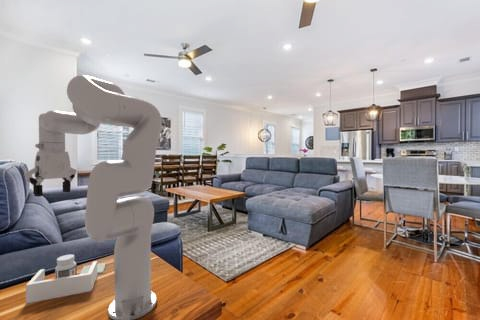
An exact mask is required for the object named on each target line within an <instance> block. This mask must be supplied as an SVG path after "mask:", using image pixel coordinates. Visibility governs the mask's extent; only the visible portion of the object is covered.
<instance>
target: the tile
mask: <svg viewBox="0 0 480 320" xmlns="http://www.w3.org/2000/svg"><path fill="white" fill-rule="evenodd" d="M91 265H92V264H87V265H83V268H82V269H81V271H80V273H79V274H85V273H88V272H89V269H90V267H91ZM106 266H107V262H102V263H97V275H98V274H103V273H104V271H105V269H106Z"/></svg>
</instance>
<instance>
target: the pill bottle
mask: <svg viewBox="0 0 480 320" xmlns="http://www.w3.org/2000/svg"><path fill="white" fill-rule="evenodd" d="M75 257H76V256H75V254H65V255H64V254H63V255H61V256H59V257H57V258H56V264H57V265H56V266H55V268H54V273H55V276H54V277H55V278H61V277H67V276H73V275H78V274H77V273H78V272H77V271H78V270H77V262H76V261H75V259H76V258H75ZM55 278H54V279H55Z"/></svg>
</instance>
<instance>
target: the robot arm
mask: <svg viewBox="0 0 480 320" xmlns="http://www.w3.org/2000/svg"><path fill="white" fill-rule="evenodd" d="M66 94H67V98H68V99H69V102H70V103H72V109H73V112H67V111H60V110H48V111H47V112H46V113H45V112H44V113H41V114H39V115H38V143H36V144H35V145H34V146H35V148H36V149H37V148H38V151H37V152H36V155H35V160H34V168H32V169H30V170H28V171H24V173H23V176H24V177H25V178H26V180H27V182H29V183H30V184H31V185H32V186H33V187H32V188H33V191H32V192H33V195H34V197H43V184H42V183H43V182H44V180H54V179H62V180H63V181H62V192H63V193H70V192H71V182H73V179H74V178H75V176H76V174H77V172H78V170H77V169H76V168H73V167H72V166H71V160H70V156H69V155H70V154H69V152H68V151H66V134H68V135H69V134H71V135H87V134H90V133H93V132H96V131H97V129H99V127H100V126H101V124H102V125H109V126H114V127H115V126H116V127H125V128H131V129H132V130H131V131H130V132H129V134H128V135H127V136H126V138H125V140H124V141H123V142H124V143H123V145H122V146H123V147H122V155H121V159H120V160H119V159H117V160H113V159H112V160H104V161H101V162H99V163H97V164H95V166H94V167H93V168H92V170H91V172H90V174H89V178H88V182H87V191H86V202H85V203H86V205H85V215H84V225H85V231H86V234H87V236H88V237H89V238H90V239H91V240H92V241H95V242H104V241H108V240H112V239H114V238H117V239H116V241H115V245H114V249H113V251H114V252H113V253H114V254H113V255H114V256H113V257H114V258H113V259H114V263H113V264H114V266H113V267H114V271H113V272H114V299H113V301H112V302H111V303H110V304H109V306H108V313H107V314H108V316H109V318H110V319H112V320H136V319H139V318H141V317H143V316H146V315H147V314H148V313H150V312H151V311H152V310H153V309H154V308H155V307H156V304H157V302H158V301H157V299H158V298H157V295H156V293H155V292H153V290H152V266H151V265H152V260H151V259H152V258H151V256H152V242H151V241H152V230H153V224H154V218H155V208H154V204H153V203H152V201H151V200H150V199H149V198H147V197H144V196H142V195H141V196H140V195H139V196H138V194H142V193H145V192H147V191H149V190H150V189H151V187H152V184H153V179H154V174H155V173H154V172H155V164H156V156H157V149H158V148H157V146H158V143H159V139H160V135H161V132H162V125H163V124H162V123H163V122H162V116H161V113H160V111H159V109H158V108H157V107H156V106H155V105H153V104H152V103H150V102H148V101H146V100H144V99H140V98H137V97H133V96H130V95H125V92H124V91H123V89H122V88H121V87H119V86H118V85H117V84H114V83H112V82H109V81H106V80H103V79H99V78H96V77H93V76H89V75H85V74H80V75H79V74H78V75H76V76H73V78H71V79H70V81H69V82H68V84H67V87H66ZM33 175H34V177H33ZM132 195H137V196H132ZM125 196H128V197H125ZM120 197H121V198H120ZM122 197H123V198H122Z"/></svg>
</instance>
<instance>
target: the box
mask: <svg viewBox="0 0 480 320" xmlns="http://www.w3.org/2000/svg"><path fill="white" fill-rule="evenodd" d="M97 264H98V261H97V260H96V261H95V260H94V261H92V263H91V264H90V265H91V267H90V269H89V272H88V273H85V274H80V273H79V274H77V275H73V276H67V277H61V278H51V279H46V278H45V277H46V276H45V275H46V274H45V273H46V269H45V268H42V269H41V268H40V269H39V270H38V271H37V272H36V274H35V275H33V277H32V278H31V280H29V281H28V282H27V283H26V284H25V304H31V303H36V302H41V301H42V302H43V301H46V300H52V299H57V298H63V297H68V296H72V295H78V294H83V293H88V292H92V291H93V288H94V285H95V283H96V281H97V278H98V274H97Z"/></svg>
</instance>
